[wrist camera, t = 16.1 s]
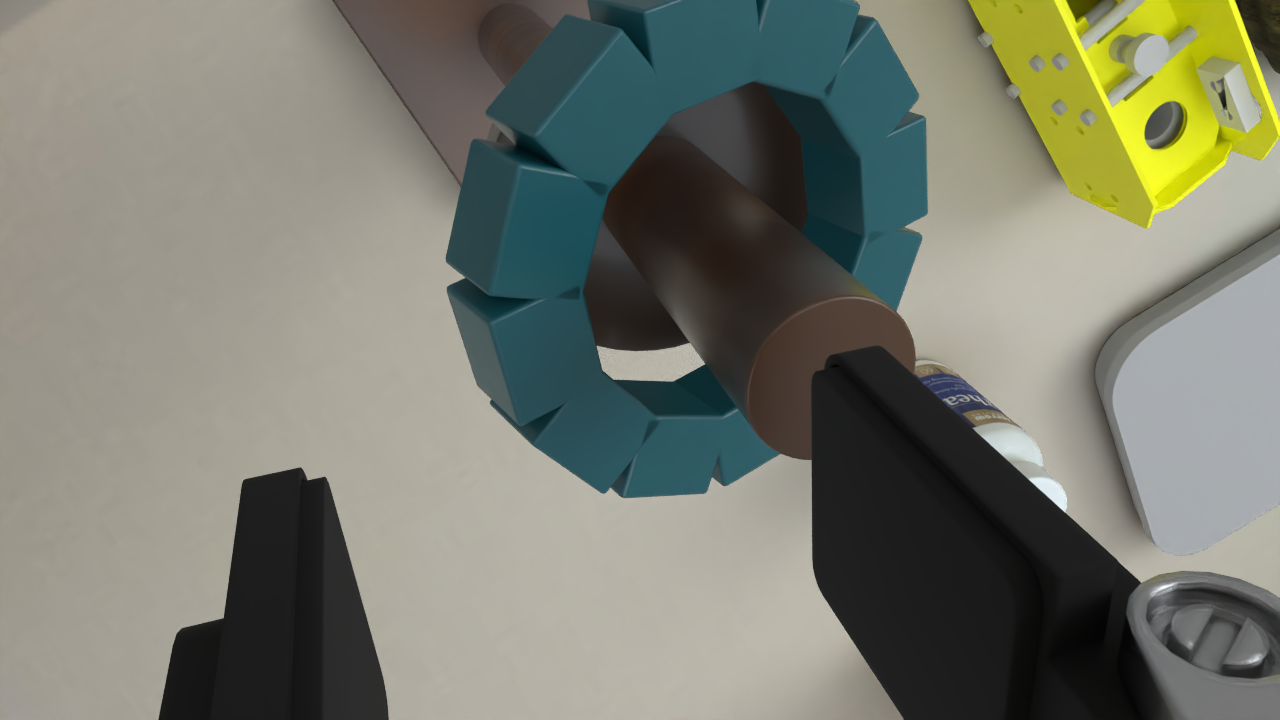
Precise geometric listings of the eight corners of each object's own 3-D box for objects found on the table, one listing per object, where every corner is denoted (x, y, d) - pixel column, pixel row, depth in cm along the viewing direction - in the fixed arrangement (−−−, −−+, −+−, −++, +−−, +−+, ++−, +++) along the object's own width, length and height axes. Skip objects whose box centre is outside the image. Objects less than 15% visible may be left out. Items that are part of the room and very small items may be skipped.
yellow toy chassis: (1154, 110, 46) (1307, 159, 39) (1054, 192, 47) (1186, 256, 39) (1010, -212, 38) (1168, -225, 31) (891, -108, 39) (1019, -97, 31)
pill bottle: (951, 340, 49) (1080, 443, 40) (963, 428, 52) (1086, 542, 43) (849, 381, 48) (959, 493, 40) (867, 468, 51) (972, 590, 43)
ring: (525, 536, 19) (567, 584, 17) (373, 70, 14) (418, 93, 13) (875, 335, 22) (931, 364, 21) (852, -97, 17) (923, -92, 16)
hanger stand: (471, 198, 40) (693, 750, 16) (327, -12, 35) (322, 309, 11) (666, 73, 39) (1195, 433, 15) (546, -154, 35) (1033, -148, 11)
